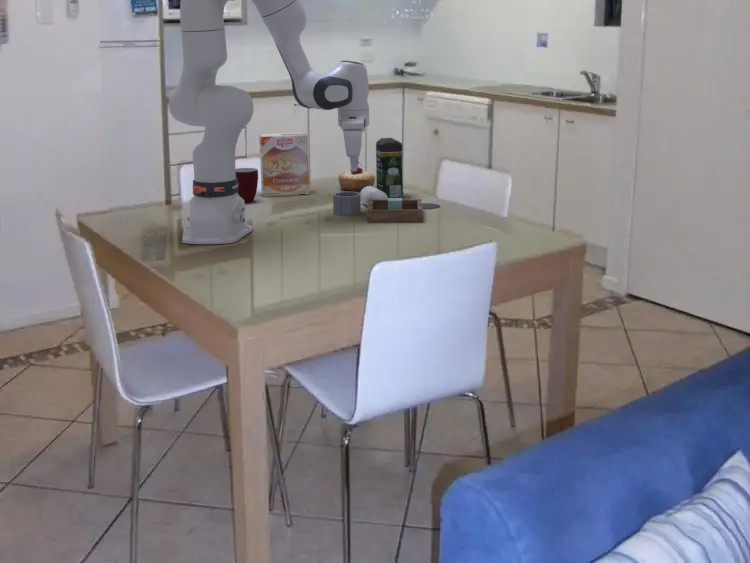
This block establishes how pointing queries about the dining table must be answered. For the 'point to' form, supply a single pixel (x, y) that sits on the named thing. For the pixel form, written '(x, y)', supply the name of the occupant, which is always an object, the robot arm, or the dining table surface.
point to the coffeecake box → (284, 164)
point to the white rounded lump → (372, 194)
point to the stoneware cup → (347, 203)
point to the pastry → (356, 180)
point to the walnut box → (395, 212)
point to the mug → (247, 183)
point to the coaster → (429, 206)
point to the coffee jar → (389, 167)
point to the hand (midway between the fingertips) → (354, 168)
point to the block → (394, 203)
